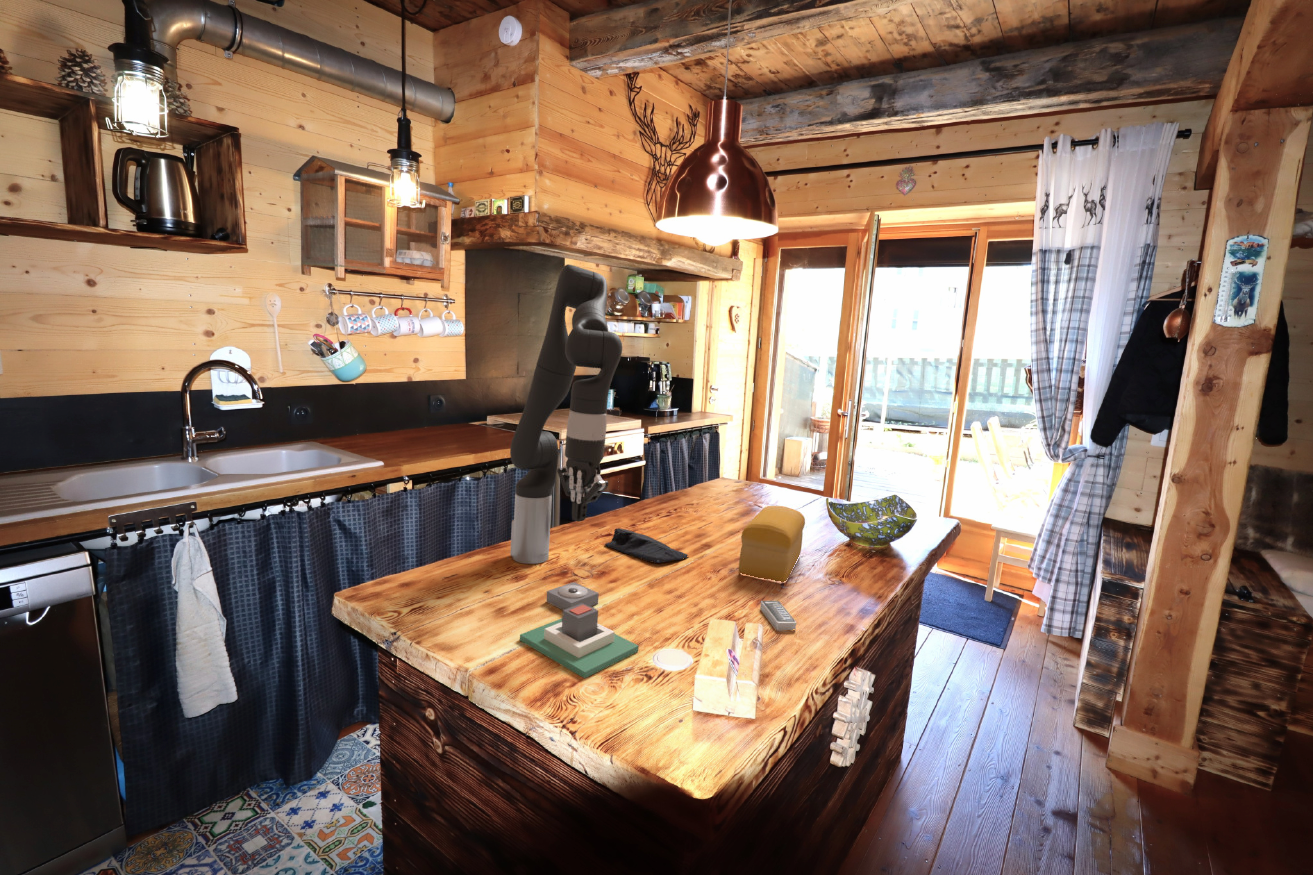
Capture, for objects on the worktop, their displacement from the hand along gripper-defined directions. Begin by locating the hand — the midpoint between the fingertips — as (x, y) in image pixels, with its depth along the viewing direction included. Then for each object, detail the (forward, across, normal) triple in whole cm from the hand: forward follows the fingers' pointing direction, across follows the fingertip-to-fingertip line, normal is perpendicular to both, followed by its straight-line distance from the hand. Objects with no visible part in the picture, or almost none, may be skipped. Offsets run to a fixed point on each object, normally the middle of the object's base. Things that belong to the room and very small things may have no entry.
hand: (578, 519), depth 123 cm
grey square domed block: (+23, +7, -7) cm, 25 cm away
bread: (+22, -8, -66) cm, 70 cm away
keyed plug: (+21, -8, +4) cm, 23 cm away
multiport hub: (+22, -27, -37) cm, 51 cm away
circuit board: (+22, -8, +4) cm, 24 cm away
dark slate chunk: (+24, +20, -45) cm, 55 cm away
